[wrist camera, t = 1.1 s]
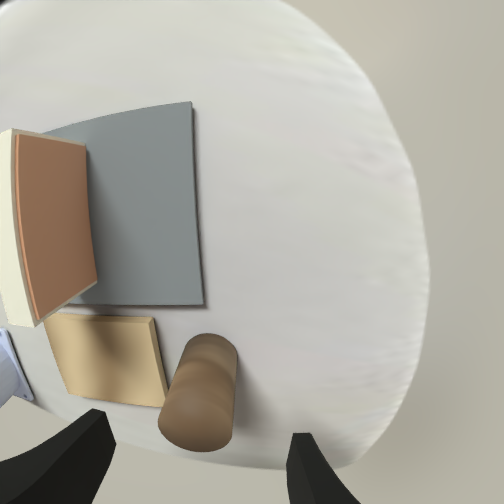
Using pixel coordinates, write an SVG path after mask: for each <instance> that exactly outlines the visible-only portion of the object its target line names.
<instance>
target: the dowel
mask: <svg viewBox="0 0 504 504" xmlns="http://www.w3.org/2000/svg"><path fill="white" fill-rule="evenodd" d="M236 370H237V353H236V350H235V348H234V346H233V345H232V344H231V343H230V342H229V341H228V340H227V339H225V338H224V337H222V336H219V335H216V334H209V333H206V334H200V335H197V336H195V337H193V338H192V339H190V340H189V341H188V343H187V344H186V346H185V348H184V351H183V354H182V356H181V359H180V362H179V364H178V367H177V369H176V372H175V375H174V377H173V380H172V383H171V385H170V388H169V391H168V393H167V396H166V399H165V401H164V404H163V407H162V410H161V412H160V415H159V418H158V427H159V429H160V431H161V433H162V434H163V436H164V437H165V438H166V439H167V440H168V441H170V442H171V443H173V444H174V445H176V446H178V447H180V448H183V449H186V450H189V451H194V452H211V451H215V450H218V449H221V448H223V447H224V446H226V445H227V444H228V443H229V441H230V440H231V437H232V429H233V414H234V399H235V384H236Z"/></svg>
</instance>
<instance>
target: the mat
mask: <svg viewBox="0 0 504 504" xmlns="http://www.w3.org/2000/svg"><path fill="white" fill-rule="evenodd" d="M42 134H45V135H50V136H55V137H60V138H65V139H69V140H74V141H79V142H83V143H85V146H86V173H87V194H88V208H89V219H90V229H91V238H92V246H93V253H94V260H95V267H96V273H97V279H98V280H97V283H96V284H95V285H93V286H92V287H91V288H89V289H88V290H86V291H85V292H83V293H82V294H80V295H79V296H78V297H76V298H75V299H73V300H72V301H70V302H69V303H73V304H106V305H200V304H203V303H204V298H203V288H202V278H201V267H200V255H199V242H198V229H197V214H196V197H195V178H194V155H193V121H192V102H191V101H189V102H181V103H173V104H166V105H159V106H153V107H147V108H141V109H136V110H131V111H126V112H121V113H116V114H111V115H107V116H103V117H98V118H94V119H90V120H86V121H83V122H79V123H75V124H72V125H68V126H65V127H61V128H58V129H55V130H52V131H48V132H45V133H42Z"/></svg>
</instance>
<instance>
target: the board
mask: <svg viewBox="0 0 504 504" xmlns="http://www.w3.org/2000/svg"><path fill="white" fill-rule="evenodd" d="M43 322H44V326H45V329H46V333H47V336H48V339H49V342H50V345H51V348H52V351H53V354H54V357H55V360H56V363H57V366H58V368H59V371H60V374H61V376H62V379H63V381H64V384H65V386H66V389H67V391H68V393H69V394H73V395H77V396H83V397H88V398H93V399H99V400H105V401H112V402H119V403H126V404H134V405H143V406H154V407H163V404H164V401H165V399H166V396H167V393H168V387H167V383H166V379H165V374H164V370H163V365H162V361H161V356H160V351H159V346H158V341H157V336H156V331H155V326H154V320H153V317H128V316H98V315H78V314H62V313H54V314H52V315H51V316H49V317H48V318H47V319H45V320H44V321H43Z"/></svg>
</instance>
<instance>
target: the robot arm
mask: <svg viewBox="0 0 504 504" xmlns="http://www.w3.org/2000/svg"><path fill="white" fill-rule="evenodd" d="M12 395H14V396H17V397H20V398H23V399H26V400H29V401H32V400H33V399H34V397H33V395H32V393H31V390H30V388H29V386H28V384H27V381H26V379H25V377H24V375H23V372H22V370H21V367H20V365H19V362H18V360H17V357H16V354H15V352H14V349H13V346H12V343H11V340H10V337H9V334H8V332H7V331H6V330H5V329H3V328H0V408H1V407H2V405H4V404H5V403H6V401H7V400H8V399H9V398H10V397H11V396H12ZM115 447H116V442H115V439H114V436H113V433H112V431H111V428H110V425H109V422H108V419H107V416H106V413H105V412H104V411H100V410H97V409H93V408H92V409H91V410H89V411H88V412H87V413H85V414H84V415H82V416H81V417H80V418H78V419H77V420H76V421H74V422H73V423H72V424H70V425H69V426H68V427H66V428H65V429H63V430H62V431H60V432H59V433H58V434H56V435H55V436H53V437H51V438H50V439H48V440H47V441H45V442H43V443H42V444H40V445H38V446H37V447H35V448H33V449H31V450H29V451H27V452H25V453H23V454H20V455H18V456H16V457H13V458H10V459H7V460H4V461H1V462H0V504H92V502H93V499H94V497H95V495H96V493H97V491H98V489H99V487H100V484H101V483H102V480H103V478H104V476H105V474H106V472H107V470H108V468H109V466H110V463H111V460H112V457H113V454H114V450H115ZM286 469H287V487H288V494H289V500H290V504H361V503H360V502H359V501H358V500H357V499H356V498H355V497H354V496H353V495H352V494H351V493H350V492H349V490H348V489H347V488H346V487H345V486H344V484H343V483H342V482H341V481H340V479H339V478H338V477H337V475H336V474H335V472H334V471H333V470H332V468H331V467H330V465H329V464H328V462H327V461H326V459H325V458H324V456H323V454H322V453H321V451H320V449H319V448H318V446H317V444H316V442H315V440H314V438H313V436H312V434H310V433H293V436H292V441H291V445H290V450H289V454H288V459H287V463H286Z"/></svg>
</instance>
